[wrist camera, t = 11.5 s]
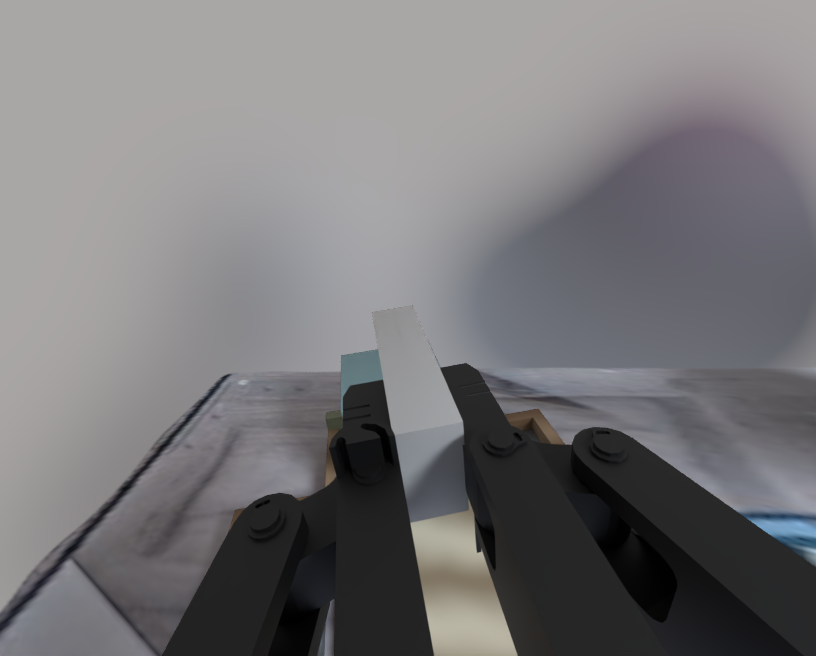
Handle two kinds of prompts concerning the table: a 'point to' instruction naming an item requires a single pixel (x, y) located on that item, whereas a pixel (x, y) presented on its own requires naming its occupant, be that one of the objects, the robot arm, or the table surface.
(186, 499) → the table surface
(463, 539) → the trap lane
